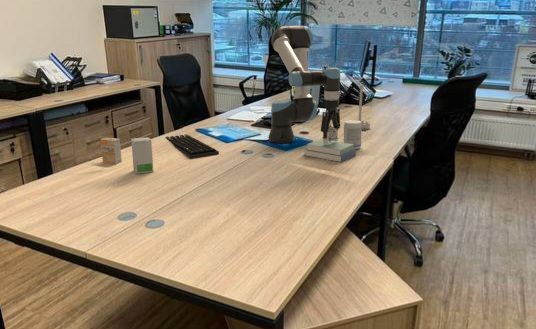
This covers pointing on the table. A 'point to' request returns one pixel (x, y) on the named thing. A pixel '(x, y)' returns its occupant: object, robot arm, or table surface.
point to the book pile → (330, 150)
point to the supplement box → (111, 150)
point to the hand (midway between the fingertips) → (330, 142)
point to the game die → (332, 133)
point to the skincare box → (142, 155)
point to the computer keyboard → (192, 146)
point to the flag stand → (367, 124)
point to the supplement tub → (353, 133)
